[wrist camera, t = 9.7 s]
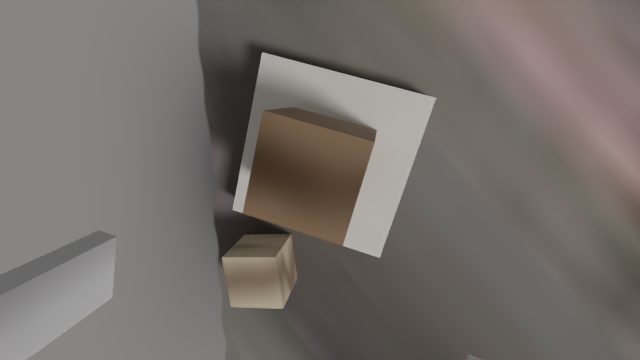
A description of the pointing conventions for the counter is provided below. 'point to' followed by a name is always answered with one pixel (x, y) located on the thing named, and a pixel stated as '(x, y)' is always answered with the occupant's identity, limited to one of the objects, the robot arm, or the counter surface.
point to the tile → (357, 108)
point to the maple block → (260, 271)
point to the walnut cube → (308, 172)
